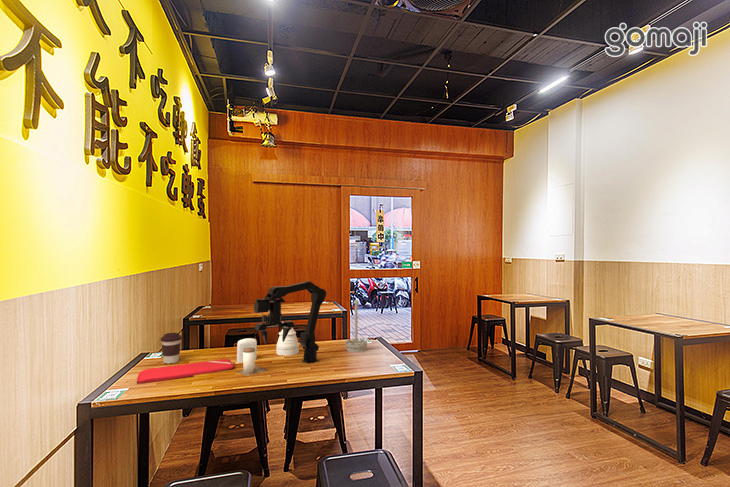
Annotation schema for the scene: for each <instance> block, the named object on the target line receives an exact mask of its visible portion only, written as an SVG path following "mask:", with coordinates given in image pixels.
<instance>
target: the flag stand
mask: <svg viewBox="0 0 730 487" xmlns="http://www.w3.org/2000/svg"><path fill="white" fill-rule="evenodd" d="M359 303H360V302H359V300H358V299H355V300H354V301H353V304H354V305H353V306H352V307H351V308H352V309H353V311H354V338H352V340H351V339H347V340H345V342H344V343H345V347H346V350H347V352H349V351H350V353H363V352H365V351H366V347H367V346H368V340H366V339H364V338H361V339H359V340H358V305H359ZM362 351H363V352H362Z"/></svg>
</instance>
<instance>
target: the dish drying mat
mask: <svg viewBox="0 0 730 487" xmlns="http://www.w3.org/2000/svg"><path fill="white" fill-rule="evenodd" d="M234 368H235V366H234V363H233V361H232V360H231V359H227V358H226V359H225V358H223V359H214V360H208V361H207V360H206V361H198V362H191V363H184V364H176V365H175V364H173V365H170V366H160V367H159V366H158V367H151V368H146V369H143V370H141V371H139V372H138V375H137V378H136V384H137V385H139V384H138V383H141V384H146V383H147V382H149V383H154V382H155V381H156V382H162V381H169V380H176V379H184V378H190V377H194V376H197V375H203V374H204V375H205V374H212V373H219V372H225V371H229V370H234ZM147 384H148V383H147Z"/></svg>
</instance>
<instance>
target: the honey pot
mask: <svg viewBox="0 0 730 487" xmlns="http://www.w3.org/2000/svg"><path fill="white" fill-rule="evenodd" d="M281 322H282V323H283V321H281ZM296 334H297V332H296V331H295V329H294V327H292V329H290V331H289V332H288V334H287V336H286V338H285V341H284V342H283V341H282V337H283V328H281V331H279V332H278V335H279V336H278V340H277V342H276V349H275V350H276V351H275V352H276V353H275V354H276V355H278V356H282V355H283V356H287V357H288V356H294V355H298V354H299V353H300V350H299V349H300V341H298V340H299V339H298V337H297V335H296Z"/></svg>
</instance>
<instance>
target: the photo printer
mask: <svg viewBox="0 0 730 487" xmlns="http://www.w3.org/2000/svg"><path fill="white" fill-rule="evenodd" d="M257 344H258V343H257V339H256V338H252V337H250V338H249V337H248V338H243V339H240V340H238V341H237V344H236V362H237V363H243V349H244V348H249V347H252V348H255V361H256V360H257V351H258V350H257V349H258V348H257V347H258V346H257Z"/></svg>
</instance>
